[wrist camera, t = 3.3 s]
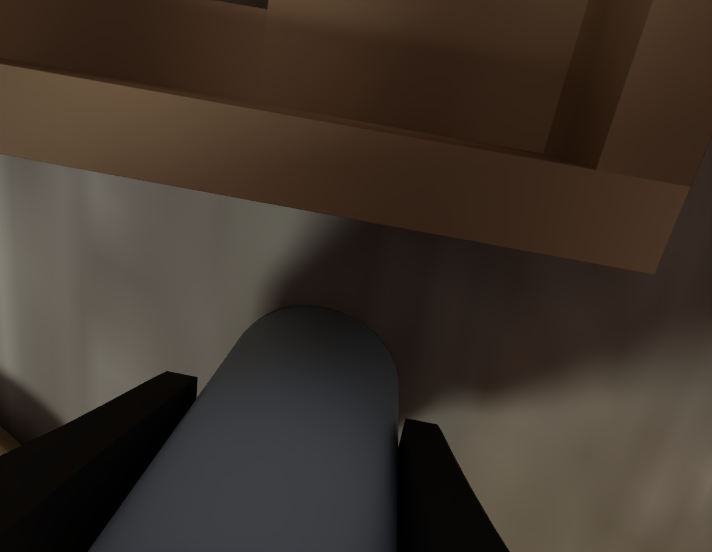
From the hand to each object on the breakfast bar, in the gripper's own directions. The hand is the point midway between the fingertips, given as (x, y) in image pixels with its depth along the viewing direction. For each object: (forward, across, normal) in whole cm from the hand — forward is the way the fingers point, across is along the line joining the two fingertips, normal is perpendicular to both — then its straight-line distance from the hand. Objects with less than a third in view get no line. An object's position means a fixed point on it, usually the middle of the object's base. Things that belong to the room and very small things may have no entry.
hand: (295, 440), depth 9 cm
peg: (+2, 0, 0) cm, 2 cm away
